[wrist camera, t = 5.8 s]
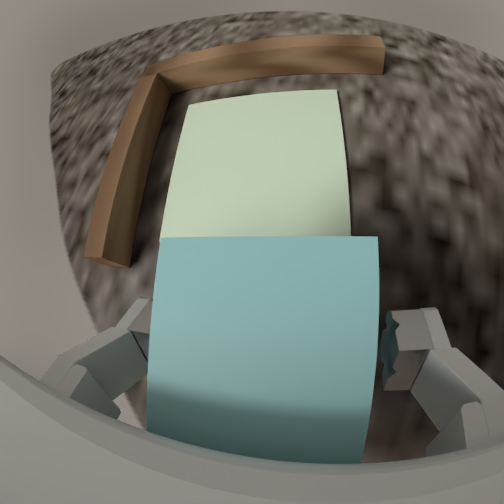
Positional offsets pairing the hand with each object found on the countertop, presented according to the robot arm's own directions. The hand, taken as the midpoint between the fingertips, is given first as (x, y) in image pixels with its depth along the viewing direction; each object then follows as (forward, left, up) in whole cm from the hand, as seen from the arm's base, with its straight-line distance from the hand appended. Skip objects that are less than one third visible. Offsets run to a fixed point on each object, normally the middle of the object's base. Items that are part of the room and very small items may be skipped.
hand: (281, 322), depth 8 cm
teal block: (0, +1, -5) cm, 5 cm away
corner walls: (+3, -10, -5) cm, 11 cm away
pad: (+3, -9, -5) cm, 10 cm away
